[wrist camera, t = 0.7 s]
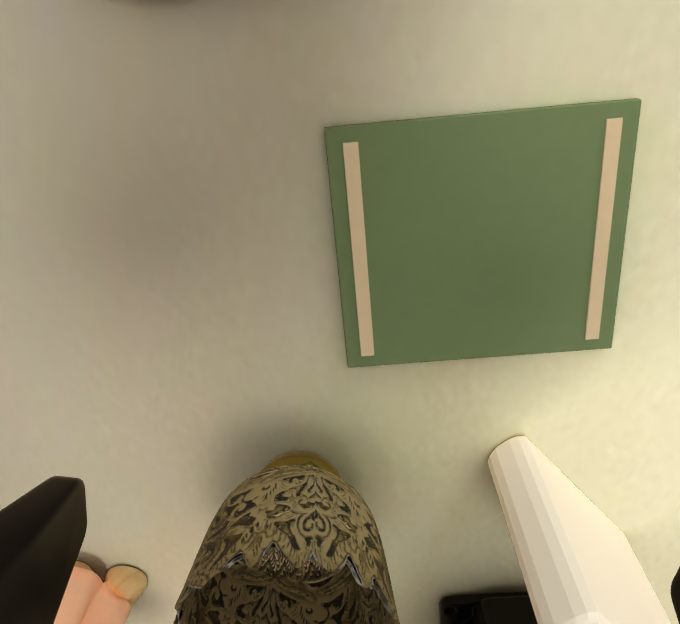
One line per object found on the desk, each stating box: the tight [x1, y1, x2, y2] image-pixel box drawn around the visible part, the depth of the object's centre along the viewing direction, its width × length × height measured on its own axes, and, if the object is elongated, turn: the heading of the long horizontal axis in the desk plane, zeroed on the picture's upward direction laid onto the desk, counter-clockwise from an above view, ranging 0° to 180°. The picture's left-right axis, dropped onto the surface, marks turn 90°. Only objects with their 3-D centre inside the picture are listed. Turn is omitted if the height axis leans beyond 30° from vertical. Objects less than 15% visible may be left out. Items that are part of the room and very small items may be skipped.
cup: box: [174, 451, 400, 624], centre depth 23 cm, size 8×7×8 cm
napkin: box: [324, 99, 641, 367], centre depth 22 cm, size 9×10×1 cm
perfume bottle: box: [487, 436, 671, 624], centre depth 22 cm, size 8×2×12 cm, turn 43°
